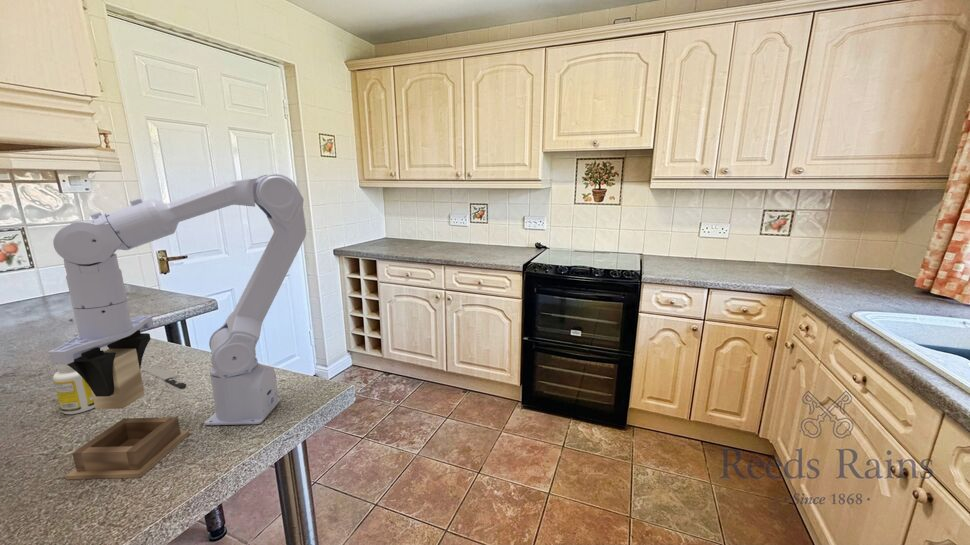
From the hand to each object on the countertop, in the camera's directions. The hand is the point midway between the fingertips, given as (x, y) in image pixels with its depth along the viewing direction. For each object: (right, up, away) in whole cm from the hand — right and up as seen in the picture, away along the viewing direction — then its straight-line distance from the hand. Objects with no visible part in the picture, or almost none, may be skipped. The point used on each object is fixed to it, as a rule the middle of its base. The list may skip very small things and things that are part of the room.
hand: (118, 387), depth 60 cm
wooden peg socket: (+3, -10, 0) cm, 11 cm away
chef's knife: (-13, -5, +25) cm, 28 cm away
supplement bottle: (-18, -7, +12) cm, 23 cm away
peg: (0, -2, +1) cm, 2 cm away
